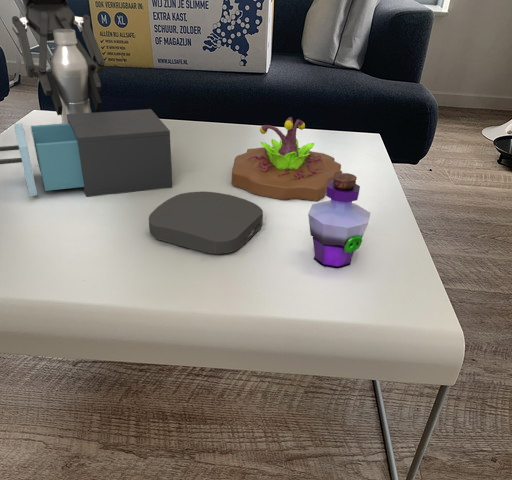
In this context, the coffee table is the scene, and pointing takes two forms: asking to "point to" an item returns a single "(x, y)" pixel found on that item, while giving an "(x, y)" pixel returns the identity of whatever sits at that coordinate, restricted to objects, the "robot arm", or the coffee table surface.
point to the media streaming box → (206, 221)
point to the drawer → (49, 157)
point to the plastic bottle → (70, 74)
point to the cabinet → (122, 151)
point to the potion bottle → (338, 223)
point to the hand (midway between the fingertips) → (79, 108)
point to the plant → (285, 168)
